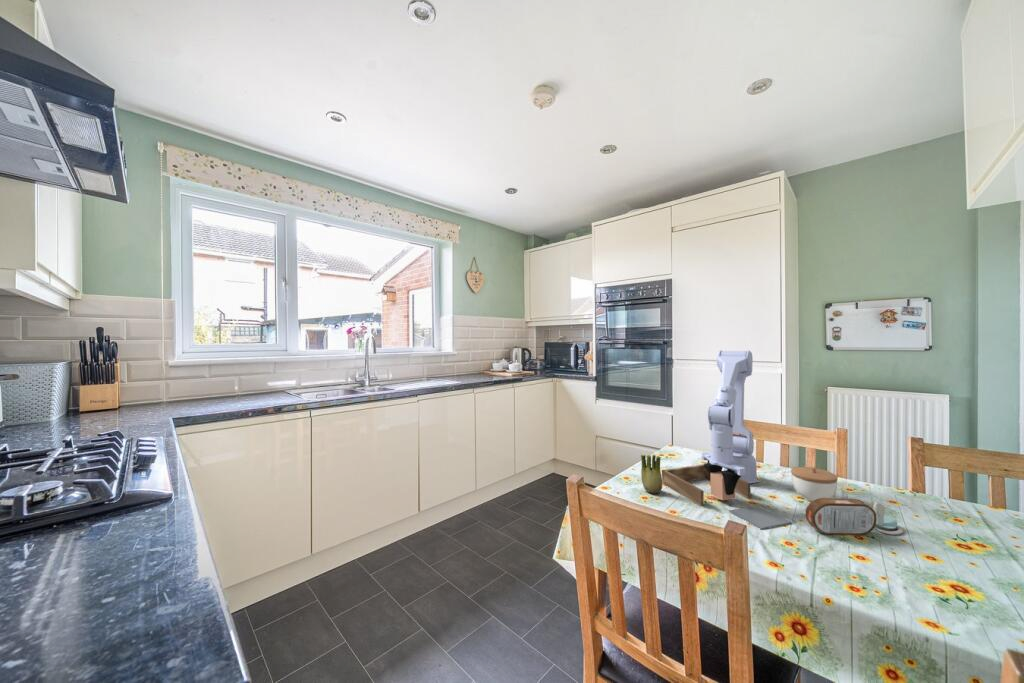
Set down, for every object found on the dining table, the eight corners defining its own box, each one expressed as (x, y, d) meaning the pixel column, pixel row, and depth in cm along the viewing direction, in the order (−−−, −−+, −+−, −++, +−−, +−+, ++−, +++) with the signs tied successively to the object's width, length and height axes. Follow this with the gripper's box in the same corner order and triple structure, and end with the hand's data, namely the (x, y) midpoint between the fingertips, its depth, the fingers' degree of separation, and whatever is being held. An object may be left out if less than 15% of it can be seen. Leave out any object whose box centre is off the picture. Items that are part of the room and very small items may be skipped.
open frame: (706, 476, 129) (706, 464, 129) (750, 497, 112) (750, 483, 112) (662, 483, 124) (661, 470, 124) (700, 506, 107) (700, 491, 107)
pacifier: (909, 533, 91) (879, 521, 97) (910, 508, 91) (879, 497, 96) (891, 539, 89) (860, 526, 94) (892, 513, 88) (861, 502, 94)
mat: (757, 506, 106) (757, 505, 106) (791, 523, 96) (791, 522, 96) (729, 511, 104) (729, 510, 104) (761, 529, 94) (761, 528, 94)
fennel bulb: (639, 490, 119) (639, 453, 119) (650, 486, 122) (649, 450, 122) (655, 496, 114) (654, 458, 114) (665, 493, 117) (664, 455, 117)
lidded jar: (846, 502, 107) (846, 470, 107) (822, 509, 103) (822, 476, 103) (806, 488, 117) (805, 459, 117) (783, 494, 113) (782, 464, 113)
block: (723, 492, 113) (722, 471, 113) (735, 498, 109) (734, 476, 109) (710, 494, 112) (710, 472, 112) (722, 500, 108) (722, 478, 108)
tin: (868, 530, 92) (868, 497, 92) (880, 537, 89) (879, 503, 89) (804, 529, 94) (804, 496, 94) (813, 536, 91) (812, 502, 90)
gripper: (693, 440, 116) (694, 483, 117) (730, 454, 102) (731, 503, 103) (711, 438, 118) (712, 480, 118) (751, 451, 104) (752, 499, 104)
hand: (722, 490), depth 111 cm, fingers closed on block, 4 cm apart
